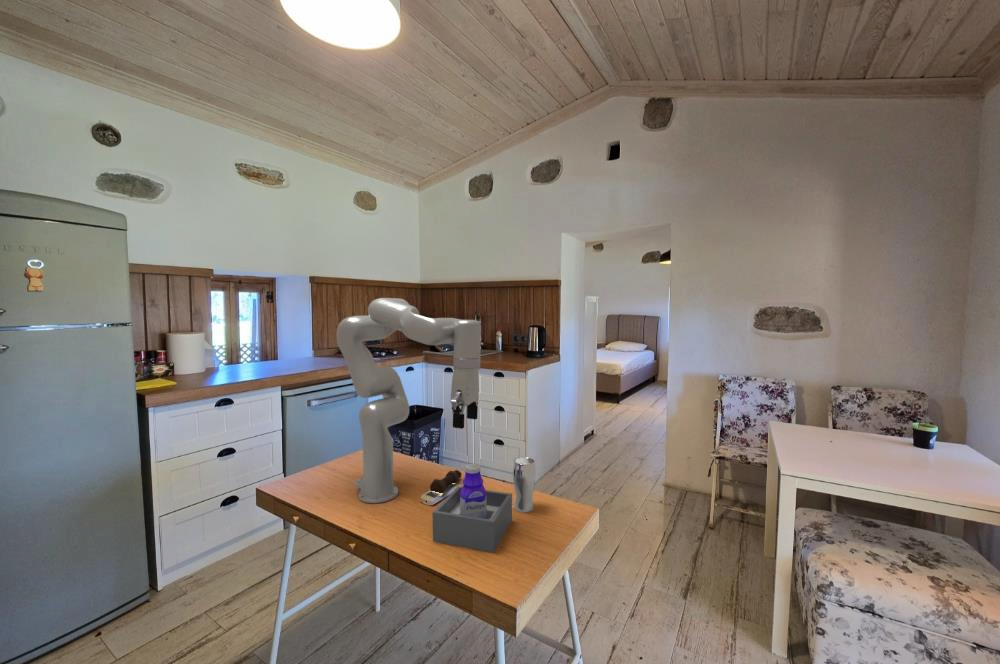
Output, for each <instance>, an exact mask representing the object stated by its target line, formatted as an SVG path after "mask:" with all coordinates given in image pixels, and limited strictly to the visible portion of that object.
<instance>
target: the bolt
mask: <svg viewBox="0 0 1000 664" xmlns="http://www.w3.org/2000/svg"><path fill="white" fill-rule="evenodd" d="M462 475H463V474H462V472H460V471H459V470H458V469H455V470H450V471H448V472H447V473H446V475H445V476H444V477H443V478H442V479H436V478H435V479H434V480H433V481H432V482H431V484H430V486H429V490H430V492H431V491H435V492H439V493H444V492H446V490H447V489H448V487H450V486H452V485H451V484H452V483H456V484H457V483H458V482H459V480H460V479H461V478H462ZM449 485H450V486H449ZM444 494H445V493H444Z"/></svg>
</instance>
